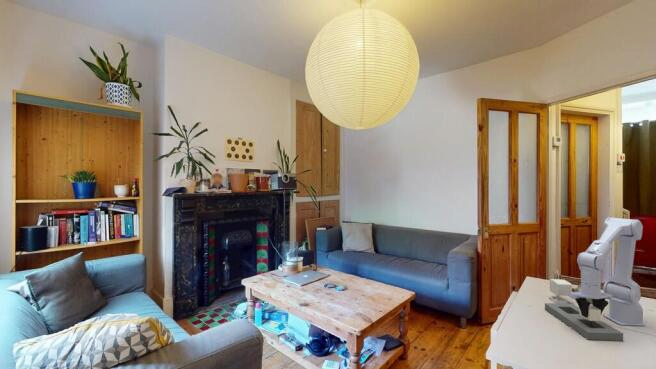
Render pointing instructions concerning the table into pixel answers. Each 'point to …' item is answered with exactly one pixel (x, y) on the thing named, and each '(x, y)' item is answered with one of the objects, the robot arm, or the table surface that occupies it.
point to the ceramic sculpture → (579, 290)
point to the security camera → (560, 290)
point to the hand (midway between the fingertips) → (590, 316)
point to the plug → (592, 314)
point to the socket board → (583, 323)
